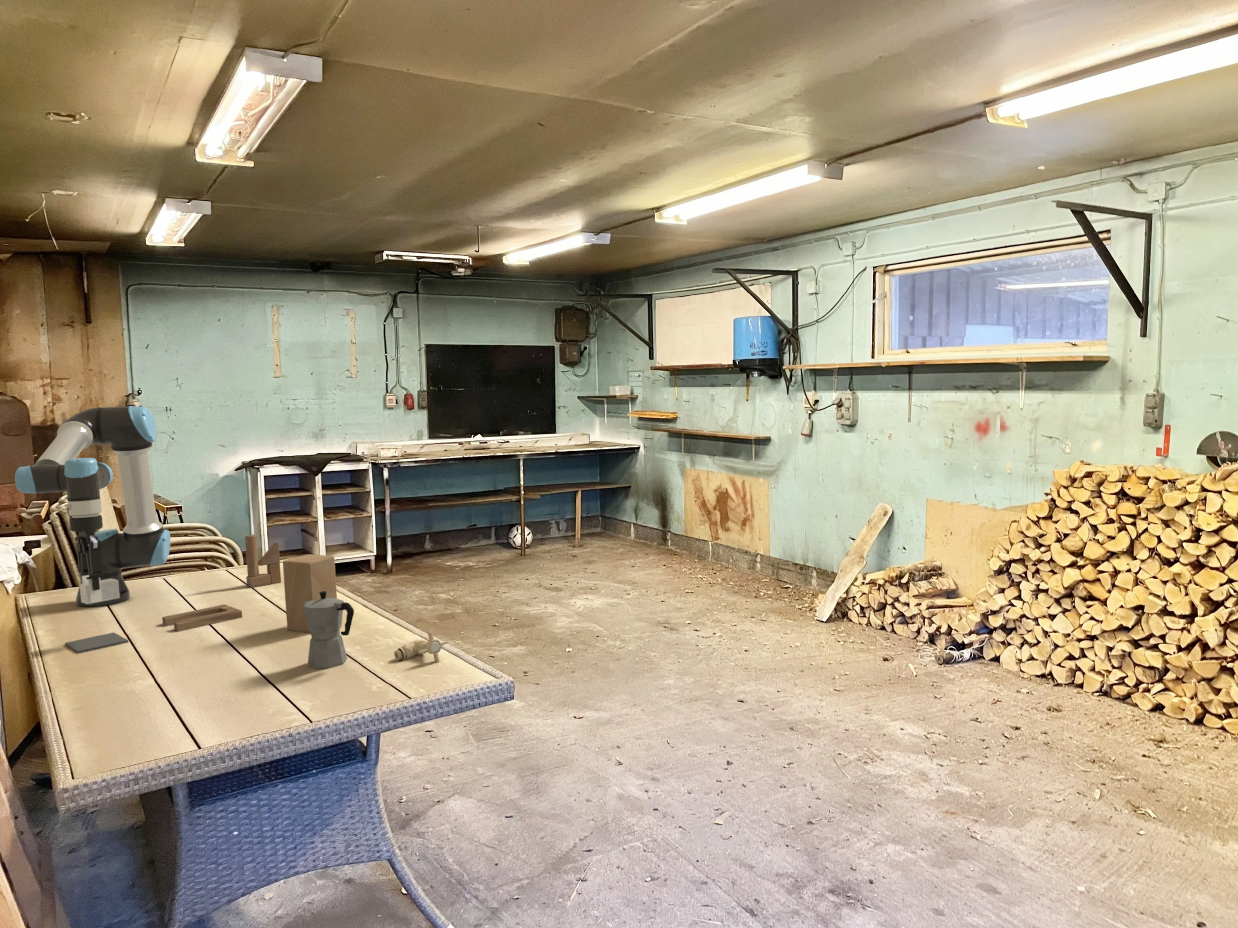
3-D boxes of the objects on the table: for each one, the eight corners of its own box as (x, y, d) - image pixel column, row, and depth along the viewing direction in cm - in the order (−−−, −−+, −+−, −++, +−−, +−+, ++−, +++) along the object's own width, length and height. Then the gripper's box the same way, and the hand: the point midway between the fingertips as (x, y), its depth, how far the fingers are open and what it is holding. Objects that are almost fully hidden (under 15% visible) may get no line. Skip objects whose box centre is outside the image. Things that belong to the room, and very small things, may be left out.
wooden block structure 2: (281, 582, 299) (278, 532, 297) (250, 588, 291) (246, 536, 290) (277, 580, 301) (274, 531, 300) (246, 586, 294) (242, 535, 292)
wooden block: (339, 624, 242) (334, 555, 241) (313, 633, 233) (308, 562, 232) (313, 620, 247) (308, 553, 245) (286, 630, 238) (281, 560, 236)
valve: (452, 656, 208) (417, 670, 201) (428, 656, 217) (393, 670, 211) (444, 626, 208) (409, 639, 201) (421, 628, 217) (386, 640, 211)
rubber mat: (65, 644, 230) (64, 642, 230) (113, 634, 239) (113, 632, 239) (78, 653, 222) (78, 651, 222) (128, 642, 231) (128, 640, 231)
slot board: (162, 623, 249) (162, 617, 248) (224, 610, 262) (224, 604, 262) (178, 631, 240) (178, 624, 240) (242, 617, 253) (241, 610, 253)
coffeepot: (292, 666, 206) (287, 594, 204) (319, 654, 215) (315, 585, 213) (343, 672, 200) (338, 598, 199) (369, 659, 209) (364, 588, 207)
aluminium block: (81, 602, 229) (79, 584, 229) (113, 595, 235) (111, 578, 235) (87, 604, 226) (86, 586, 226) (119, 597, 233) (118, 580, 232)
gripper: (59, 514, 230) (67, 598, 233) (79, 519, 218) (87, 607, 221) (90, 511, 236) (98, 592, 238) (111, 516, 224) (119, 602, 226)
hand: (93, 599), depth 229 cm, fingers closed on aluminium block, 5 cm apart
